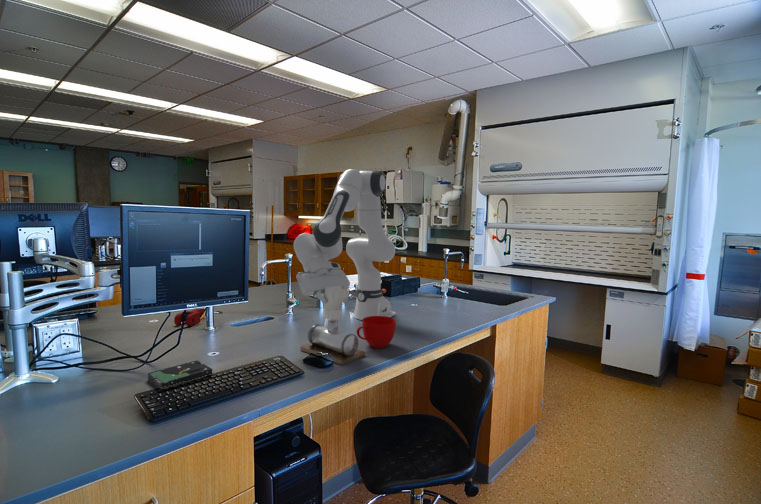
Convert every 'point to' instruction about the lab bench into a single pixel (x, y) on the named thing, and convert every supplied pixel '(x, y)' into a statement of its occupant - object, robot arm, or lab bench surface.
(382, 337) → the ceramic cup
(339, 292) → the duct elbow
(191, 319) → the dark red rounded piece
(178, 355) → the lab bench surface
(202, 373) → the disk drive
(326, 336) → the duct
